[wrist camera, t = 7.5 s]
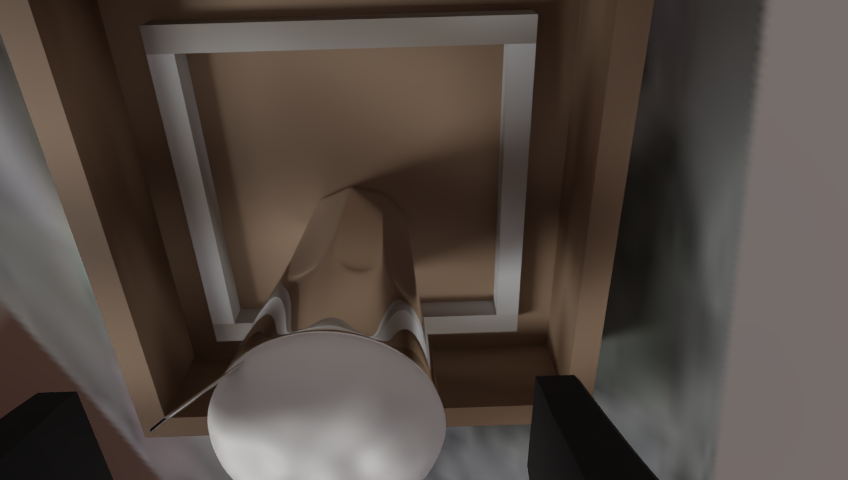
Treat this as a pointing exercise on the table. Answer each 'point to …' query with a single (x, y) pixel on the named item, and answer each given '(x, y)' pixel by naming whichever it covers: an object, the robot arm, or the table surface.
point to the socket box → (339, 171)
